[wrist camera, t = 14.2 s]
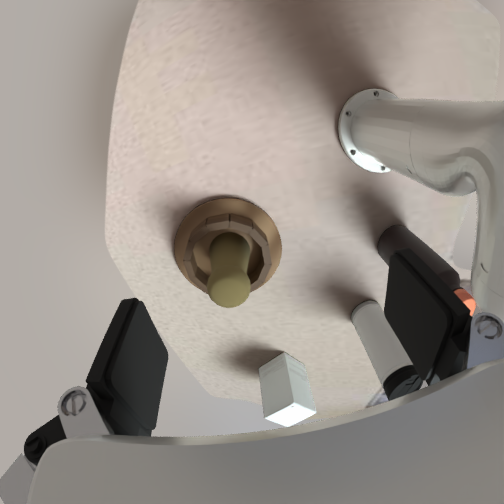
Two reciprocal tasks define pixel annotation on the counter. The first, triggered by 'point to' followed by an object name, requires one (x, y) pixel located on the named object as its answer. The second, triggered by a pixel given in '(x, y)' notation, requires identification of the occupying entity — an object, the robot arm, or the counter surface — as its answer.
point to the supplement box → (285, 391)
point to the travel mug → (385, 351)
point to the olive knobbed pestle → (229, 270)
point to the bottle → (404, 238)
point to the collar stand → (221, 221)
